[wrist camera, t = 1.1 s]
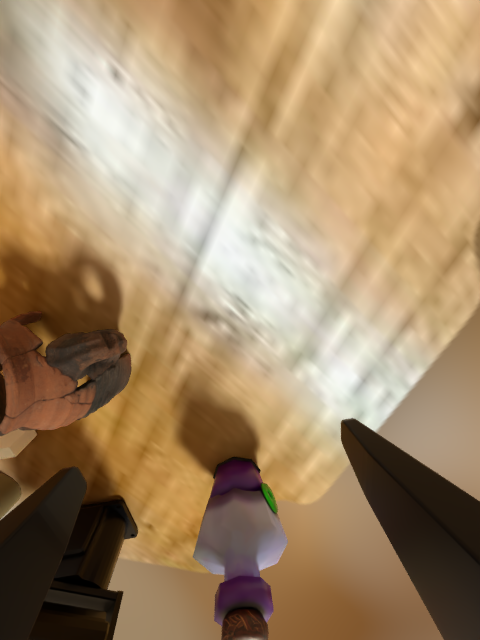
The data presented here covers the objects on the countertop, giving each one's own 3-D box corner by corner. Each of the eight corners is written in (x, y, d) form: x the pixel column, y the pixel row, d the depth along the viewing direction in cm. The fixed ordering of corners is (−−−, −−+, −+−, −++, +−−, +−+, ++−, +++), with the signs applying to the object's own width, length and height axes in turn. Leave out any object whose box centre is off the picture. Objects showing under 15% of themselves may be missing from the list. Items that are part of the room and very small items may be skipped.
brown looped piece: (97, 414, 23) (-19, 468, 16) (64, 332, 24) (-58, 347, 17) (177, 370, 18) (67, 417, 11) (132, 272, 20) (5, 254, 12)
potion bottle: (287, 466, 27) (334, 632, 15) (243, 507, 29) (255, 682, 17) (229, 435, 24) (232, 602, 13) (185, 482, 26) (156, 662, 15)
